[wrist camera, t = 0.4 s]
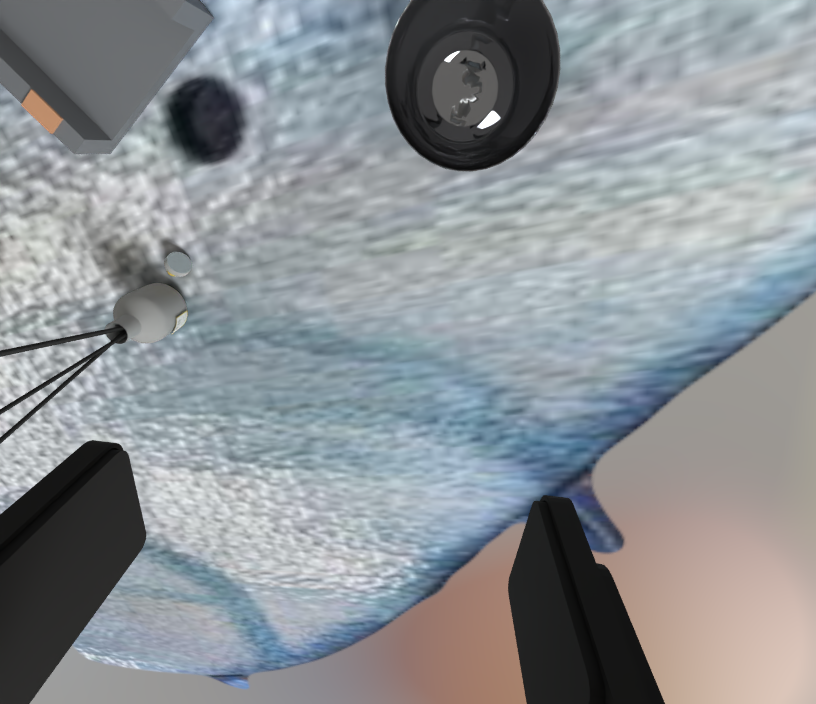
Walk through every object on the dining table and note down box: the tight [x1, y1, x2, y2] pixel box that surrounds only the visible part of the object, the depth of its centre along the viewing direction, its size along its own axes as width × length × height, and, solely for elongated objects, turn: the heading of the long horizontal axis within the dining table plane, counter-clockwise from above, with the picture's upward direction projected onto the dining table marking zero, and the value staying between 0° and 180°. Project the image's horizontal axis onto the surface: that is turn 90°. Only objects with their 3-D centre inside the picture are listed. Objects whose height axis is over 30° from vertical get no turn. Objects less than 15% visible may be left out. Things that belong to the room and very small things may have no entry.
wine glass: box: [385, 0, 560, 171], centre depth 26 cm, size 8×8×15 cm
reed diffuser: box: [0, 252, 192, 444], centre depth 32 cm, size 10×7×20 cm
